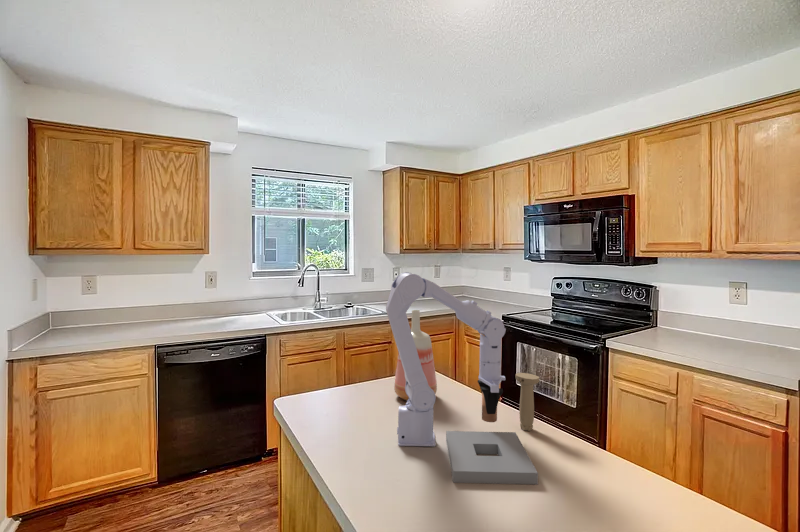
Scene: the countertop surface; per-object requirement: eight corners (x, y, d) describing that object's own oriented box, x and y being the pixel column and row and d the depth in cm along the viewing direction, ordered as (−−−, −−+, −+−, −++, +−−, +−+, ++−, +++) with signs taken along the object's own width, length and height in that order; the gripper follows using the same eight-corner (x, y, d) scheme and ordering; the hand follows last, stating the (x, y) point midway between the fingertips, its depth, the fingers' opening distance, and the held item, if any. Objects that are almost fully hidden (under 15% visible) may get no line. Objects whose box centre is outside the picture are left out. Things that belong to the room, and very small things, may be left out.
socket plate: (453, 482, 90) (453, 471, 90) (446, 440, 110) (446, 431, 110) (537, 484, 89) (537, 472, 89) (515, 441, 109) (515, 432, 109)
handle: (532, 435, 113) (533, 380, 113) (511, 427, 118) (512, 375, 117) (541, 430, 116) (542, 376, 116) (520, 423, 121) (521, 371, 121)
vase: (390, 391, 147) (390, 308, 146) (429, 388, 151) (429, 307, 150) (399, 406, 133) (400, 314, 132) (442, 403, 137) (443, 312, 136)
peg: (483, 422, 111) (483, 392, 111) (480, 416, 115) (481, 387, 115) (498, 422, 111) (498, 392, 111) (495, 416, 115) (495, 387, 115)
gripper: (511, 368, 105) (510, 421, 106) (499, 354, 120) (499, 400, 120) (483, 367, 106) (482, 420, 106) (475, 353, 120) (474, 400, 121)
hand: (489, 410), depth 113 cm, fingers closed on peg, 4 cm apart
